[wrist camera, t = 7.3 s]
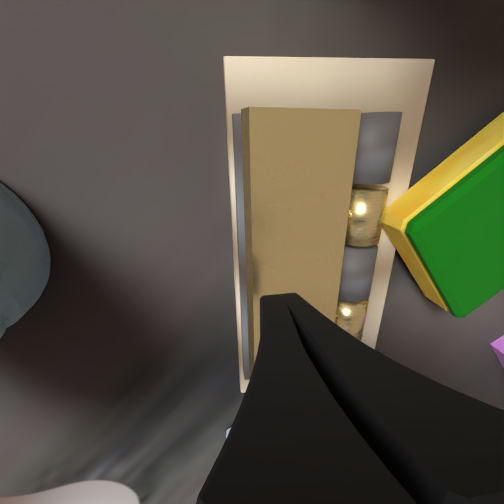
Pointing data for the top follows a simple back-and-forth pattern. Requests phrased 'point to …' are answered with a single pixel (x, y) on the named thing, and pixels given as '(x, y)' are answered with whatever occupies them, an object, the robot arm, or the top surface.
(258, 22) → the top surface
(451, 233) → the dish sponge
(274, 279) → the strip
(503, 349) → the bracket
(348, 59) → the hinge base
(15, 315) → the drinking glass
